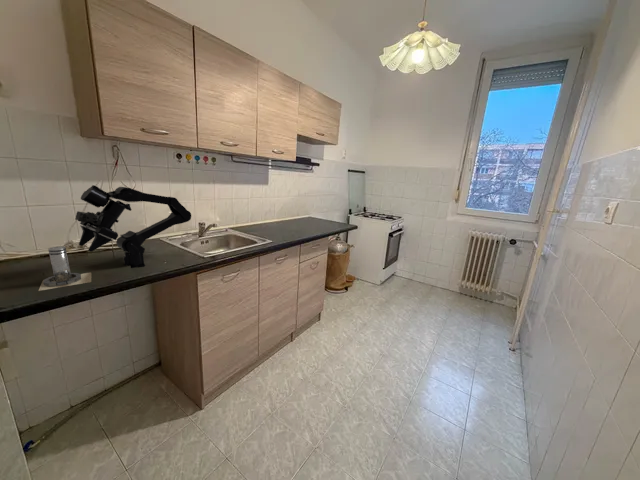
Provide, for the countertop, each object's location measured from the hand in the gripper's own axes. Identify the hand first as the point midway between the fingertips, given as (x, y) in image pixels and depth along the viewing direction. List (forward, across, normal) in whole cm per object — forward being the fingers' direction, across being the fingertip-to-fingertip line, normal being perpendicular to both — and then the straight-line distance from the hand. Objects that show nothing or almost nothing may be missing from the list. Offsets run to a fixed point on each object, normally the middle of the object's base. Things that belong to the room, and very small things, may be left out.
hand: (84, 248), depth 97 cm
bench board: (+13, +4, +1) cm, 14 cm away
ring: (+13, +3, -1) cm, 13 cm away
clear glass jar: (+13, +3, 0) cm, 13 cm away
